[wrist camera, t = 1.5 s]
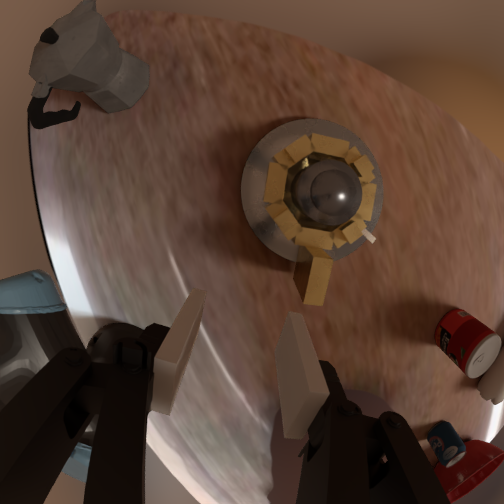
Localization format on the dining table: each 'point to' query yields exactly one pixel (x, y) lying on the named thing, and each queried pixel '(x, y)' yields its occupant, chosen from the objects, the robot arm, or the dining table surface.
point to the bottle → (493, 380)
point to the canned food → (467, 342)
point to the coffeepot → (83, 66)
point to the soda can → (446, 444)
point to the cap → (308, 188)
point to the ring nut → (310, 237)
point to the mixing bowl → (469, 469)
